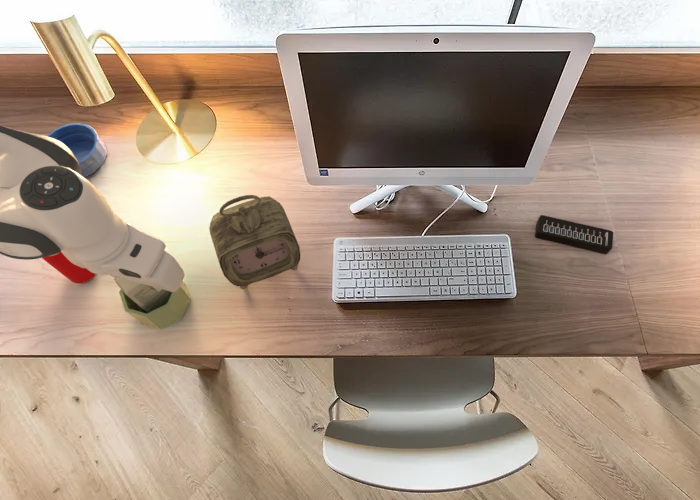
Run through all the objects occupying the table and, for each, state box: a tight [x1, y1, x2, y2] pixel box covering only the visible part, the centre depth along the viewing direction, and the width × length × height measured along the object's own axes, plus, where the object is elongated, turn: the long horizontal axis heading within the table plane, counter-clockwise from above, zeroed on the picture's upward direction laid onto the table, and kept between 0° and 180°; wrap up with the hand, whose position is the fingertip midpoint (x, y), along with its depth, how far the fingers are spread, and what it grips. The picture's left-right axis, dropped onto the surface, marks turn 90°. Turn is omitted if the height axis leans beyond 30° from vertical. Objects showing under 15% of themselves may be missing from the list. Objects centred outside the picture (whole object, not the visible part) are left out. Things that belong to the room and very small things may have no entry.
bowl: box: [46, 122, 108, 178], centre depth 114 cm, size 13×13×5 cm
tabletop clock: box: [208, 194, 301, 290], centre depth 90 cm, size 14×9×25 cm, turn 112°
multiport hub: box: [534, 214, 614, 255], centre depth 101 cm, size 4×14×2 cm, turn 73°
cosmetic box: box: [113, 277, 172, 314], centre depth 92 cm, size 6×4×12 cm
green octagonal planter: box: [118, 280, 192, 330], centre depth 95 cm, size 10×10×7 cm
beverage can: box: [41, 252, 97, 285], centre depth 97 cm, size 6×6×12 cm
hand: (140, 282), depth 89 cm, fingers closed on cosmetic box, 6 cm apart
